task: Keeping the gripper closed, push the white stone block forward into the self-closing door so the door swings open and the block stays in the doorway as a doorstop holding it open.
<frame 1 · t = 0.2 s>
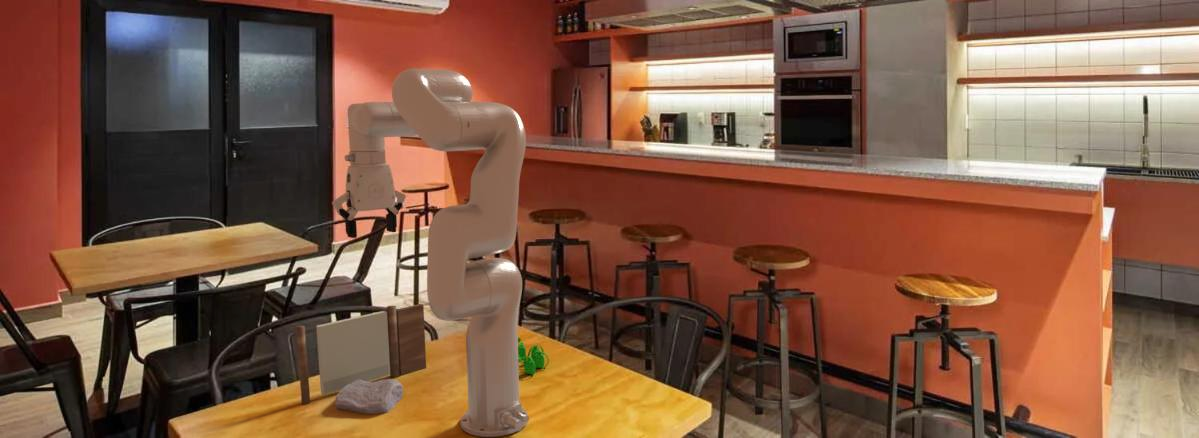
hand: (372, 234, 156), 31 cm above the table, tool pointing down, fingers open, 9 cm apart
door frame: (394, 376, 154), on the table
stone block: (368, 406, 139), on the table
chandelier: (516, 369, 159), on the table
door: (354, 351, 146), point 8 cm above the table, hinge at 0.0°
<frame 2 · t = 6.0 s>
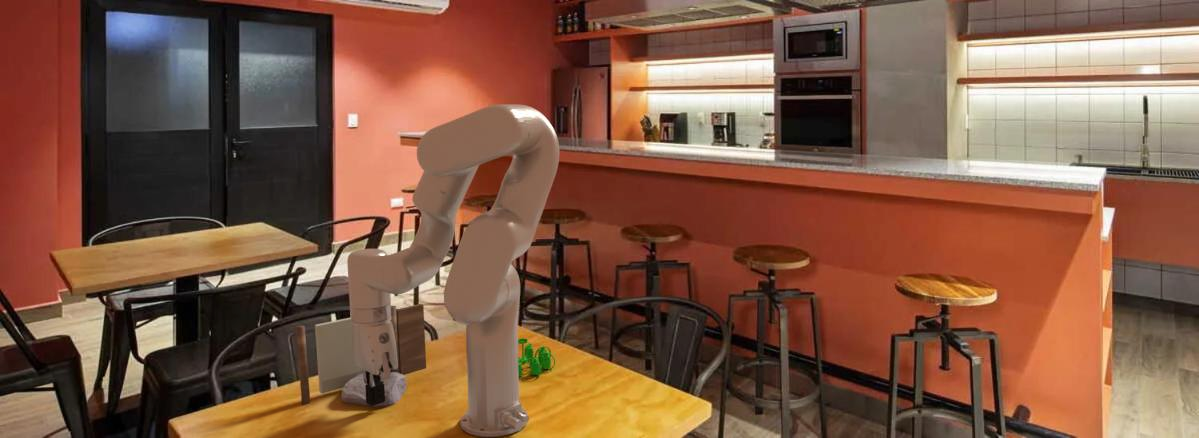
hand: (375, 402, 136), 2 cm above the table, tool pointing down, fingers closed
stone block: (373, 399, 142), on the table, touching gripper
chandelier: (523, 369, 158), on the table
door: (353, 350, 146), point 8 cm above the table, hinge at 2.9°
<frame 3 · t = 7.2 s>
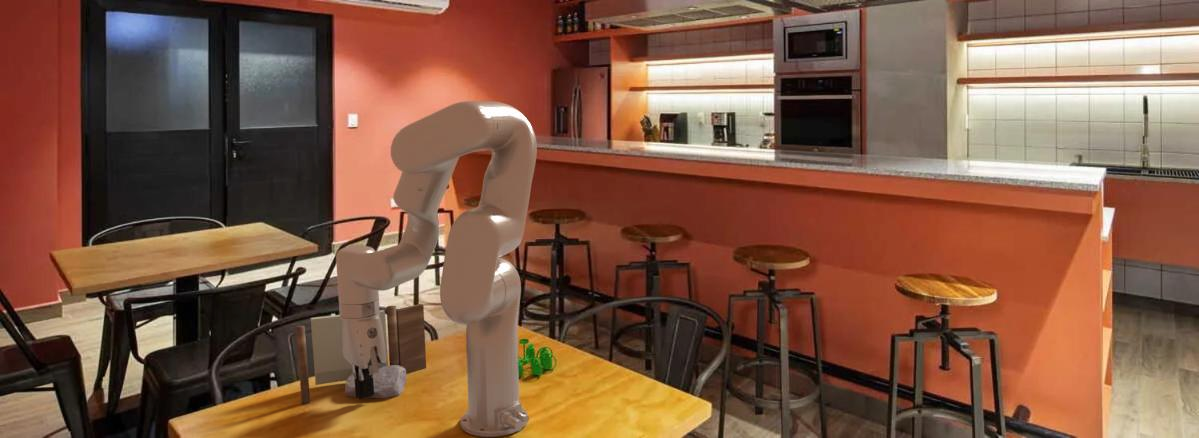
hand: (364, 396, 139), 2 cm above the table, tool pointing down, fingers closed
stone block: (375, 392, 146), on the table
door: (350, 346, 149), point 8 cm above the table, hinge at 22.4°
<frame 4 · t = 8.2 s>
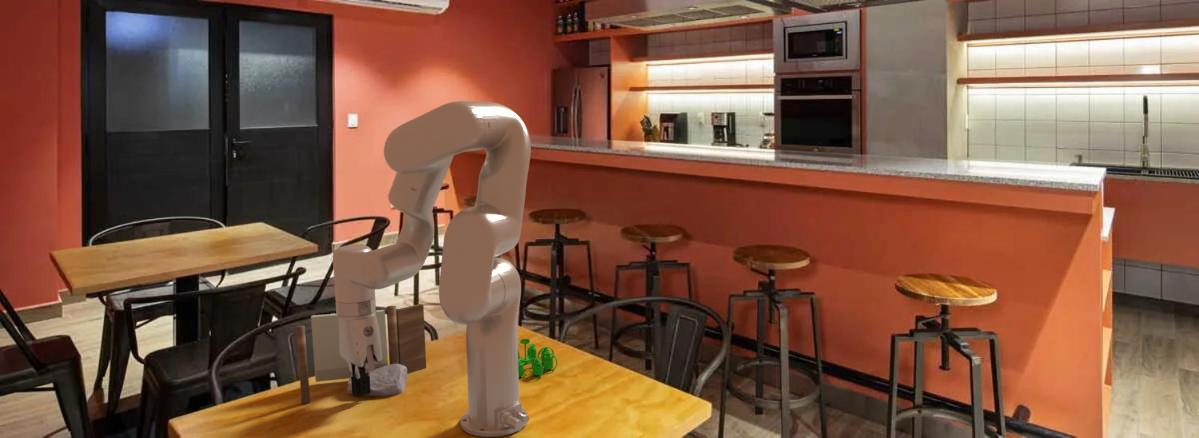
hand: (361, 394, 140), 2 cm above the table, tool pointing down, fingers closed
stone block: (377, 390, 147), on the table
door: (350, 345, 150), point 8 cm above the table, hinge at 28.7°
everything else where it was.
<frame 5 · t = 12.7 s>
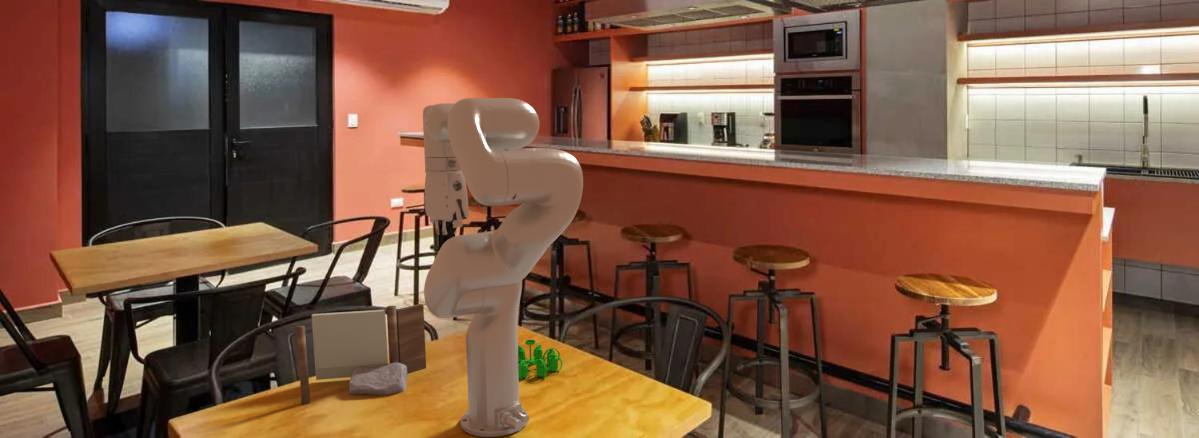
hand: (447, 252, 145), 29 cm above the table, tool pointing down, fingers closed
chandelier: (530, 371, 158), on the table
door: (350, 344, 150), point 8 cm above the table, hinge at 32.7°
everything else where it was.
at the end: door at +33° (first picture: +0°); stone block inside the target area (8.6 cm from its centre), on the table; stone block moved 9.0 cm from its start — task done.
